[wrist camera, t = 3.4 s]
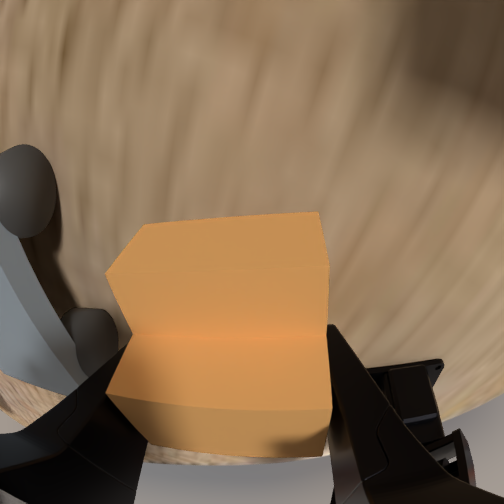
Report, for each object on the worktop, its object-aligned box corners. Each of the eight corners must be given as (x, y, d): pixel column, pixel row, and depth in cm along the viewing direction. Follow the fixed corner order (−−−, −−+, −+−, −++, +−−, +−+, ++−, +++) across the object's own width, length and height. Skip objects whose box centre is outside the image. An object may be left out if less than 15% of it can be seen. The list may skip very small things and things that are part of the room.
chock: (315, 371, 12) (317, 474, 8) (196, 370, 12) (172, 464, 8) (318, 211, 8) (342, 344, 4) (143, 224, 9) (62, 333, 5)
